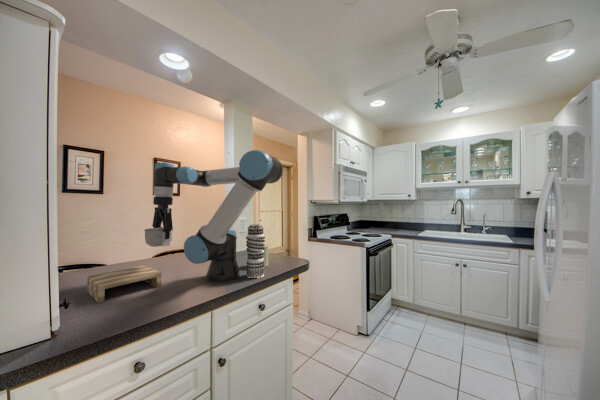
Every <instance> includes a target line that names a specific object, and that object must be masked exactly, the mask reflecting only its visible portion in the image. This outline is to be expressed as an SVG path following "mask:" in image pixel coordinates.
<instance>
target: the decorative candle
mask: <svg viewBox="0 0 600 400" xmlns="http://www.w3.org/2000/svg"><path fill="white" fill-rule="evenodd" d="M246 235H247V236H246V237H245V239H246V241H245V242H246V245H245V246H246V247H247V248H246V253H247V258H246V276H247V277H248V278H247V277H246V278H247V279H250V278H257V279H261V278H260V277H262V278H264V276H265V268H263V266H264V264H263V263H264V261H263V260H264V258H263V252H264V250H263V249H265V248H264V247H263V246H265V245H266V244H264V243H265V242H266V240H265V239H266V236H265V234H264V227H263V225H262V224H260V223H258V224H250V225H249V226H248V227H247V234H246Z"/></svg>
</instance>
